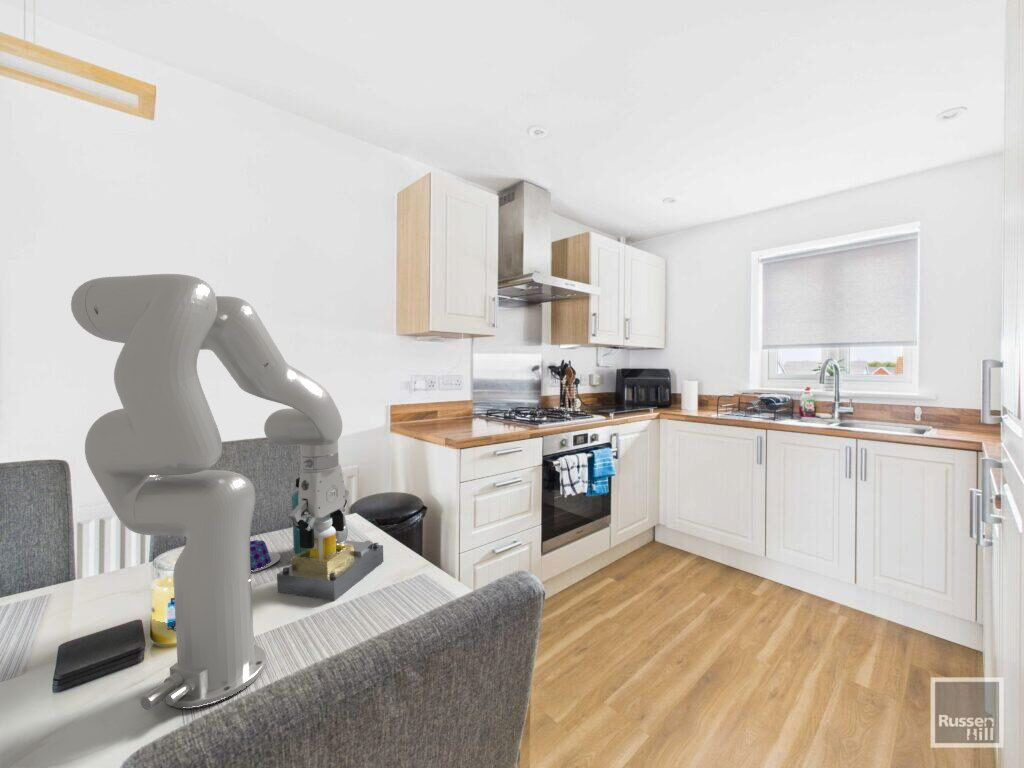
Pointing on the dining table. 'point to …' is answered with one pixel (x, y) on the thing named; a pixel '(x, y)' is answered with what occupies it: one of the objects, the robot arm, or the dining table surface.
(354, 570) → the grey tray with box
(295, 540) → the beverage bottle
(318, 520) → the supplement bottle
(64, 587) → the dining table surface
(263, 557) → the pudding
